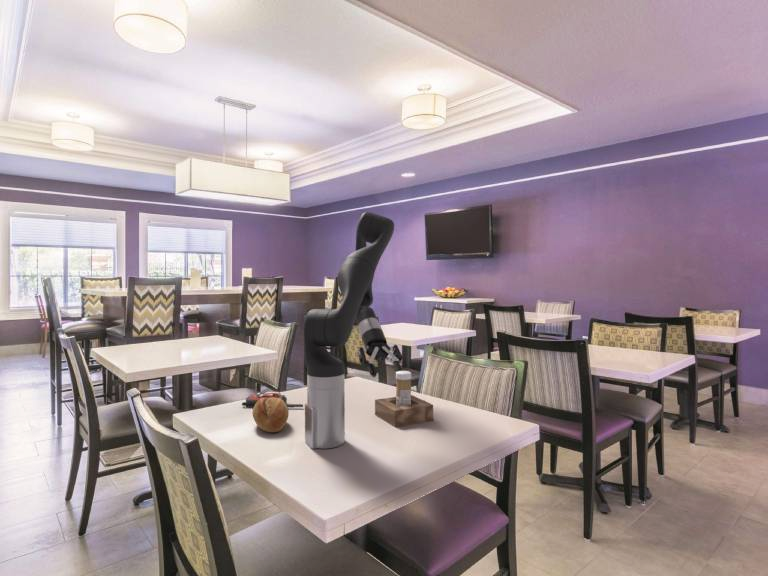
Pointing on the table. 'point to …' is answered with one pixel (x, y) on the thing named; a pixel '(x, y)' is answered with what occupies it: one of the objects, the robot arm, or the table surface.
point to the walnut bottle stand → (403, 411)
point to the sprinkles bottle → (403, 388)
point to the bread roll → (270, 414)
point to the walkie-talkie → (253, 399)
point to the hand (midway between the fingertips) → (387, 374)
